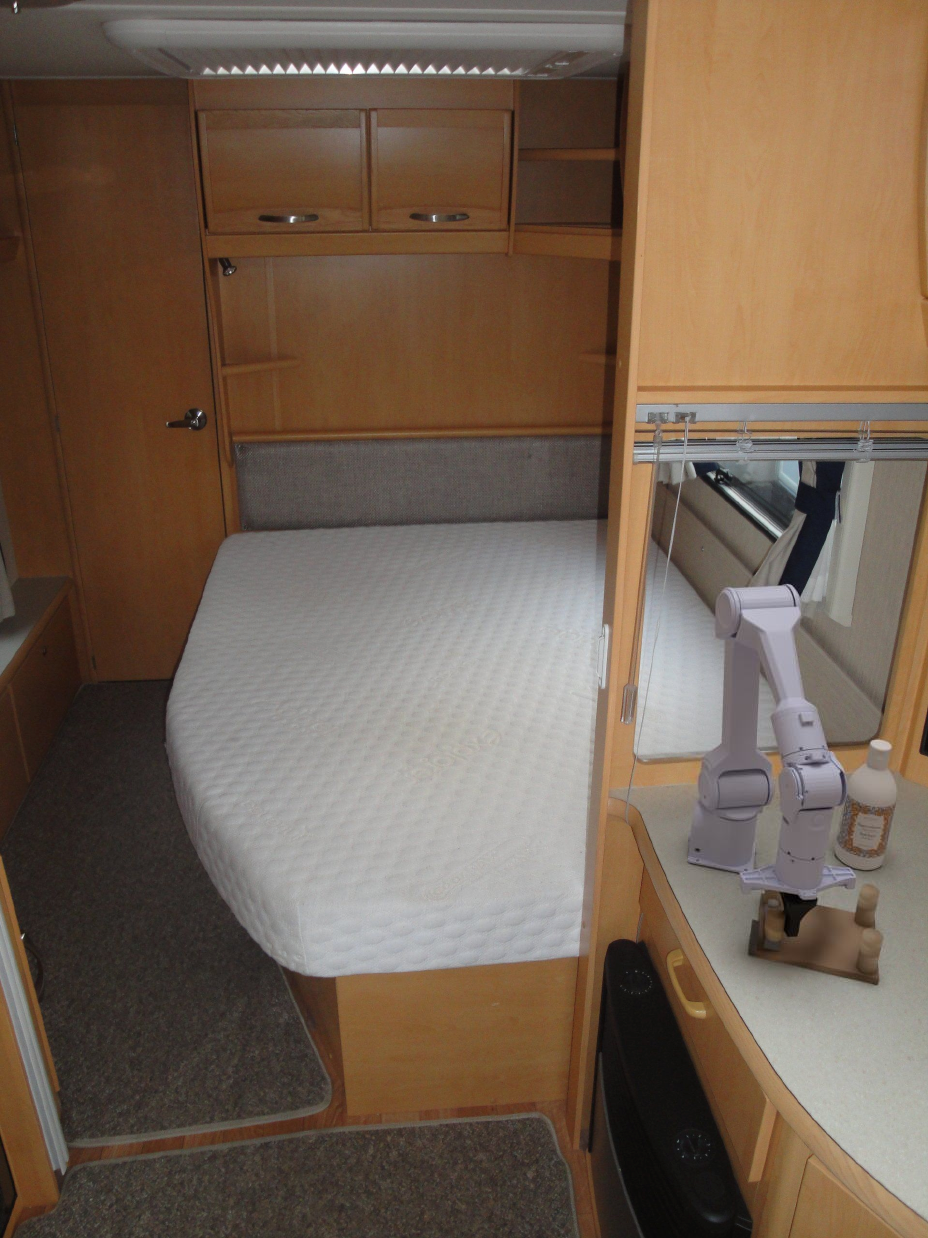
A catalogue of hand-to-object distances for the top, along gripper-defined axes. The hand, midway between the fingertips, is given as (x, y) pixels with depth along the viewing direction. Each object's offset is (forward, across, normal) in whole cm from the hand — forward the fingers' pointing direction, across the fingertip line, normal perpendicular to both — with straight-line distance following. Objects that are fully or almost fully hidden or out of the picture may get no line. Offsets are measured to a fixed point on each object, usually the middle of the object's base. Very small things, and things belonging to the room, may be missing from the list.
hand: (788, 931), depth 122 cm
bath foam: (+4, +18, +19) cm, 27 cm away
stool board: (+4, +5, +2) cm, 7 cm away
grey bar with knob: (+2, -1, +3) cm, 4 cm away
